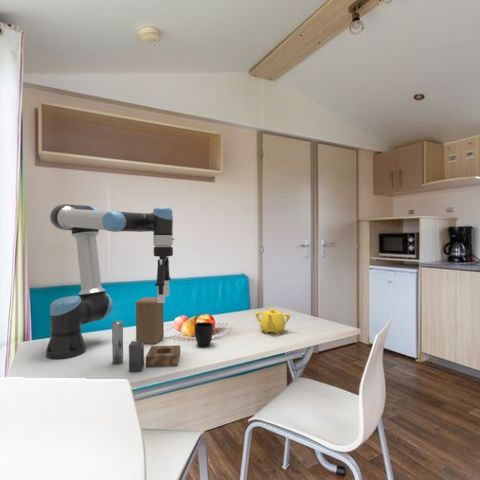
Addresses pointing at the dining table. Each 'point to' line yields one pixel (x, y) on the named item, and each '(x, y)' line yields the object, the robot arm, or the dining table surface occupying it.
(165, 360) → the bore block
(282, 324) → the teapot
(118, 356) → the bar
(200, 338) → the mug
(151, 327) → the wooden block
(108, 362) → the dining table surface
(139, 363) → the square bit
